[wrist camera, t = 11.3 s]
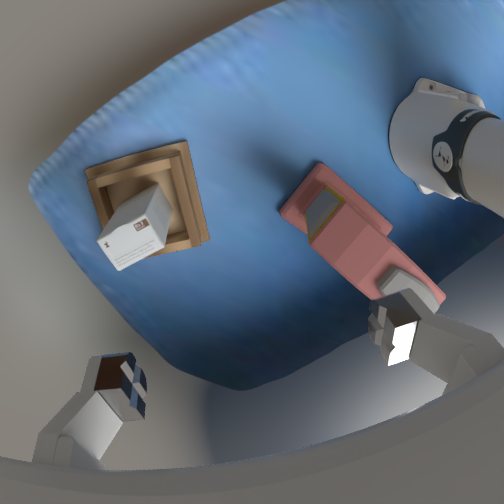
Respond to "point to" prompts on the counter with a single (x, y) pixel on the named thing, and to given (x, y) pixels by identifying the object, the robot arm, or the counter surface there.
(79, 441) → the robot arm
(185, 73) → the counter surface
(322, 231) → the pink blocky piece
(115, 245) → the skincare box
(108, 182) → the wooden tray
